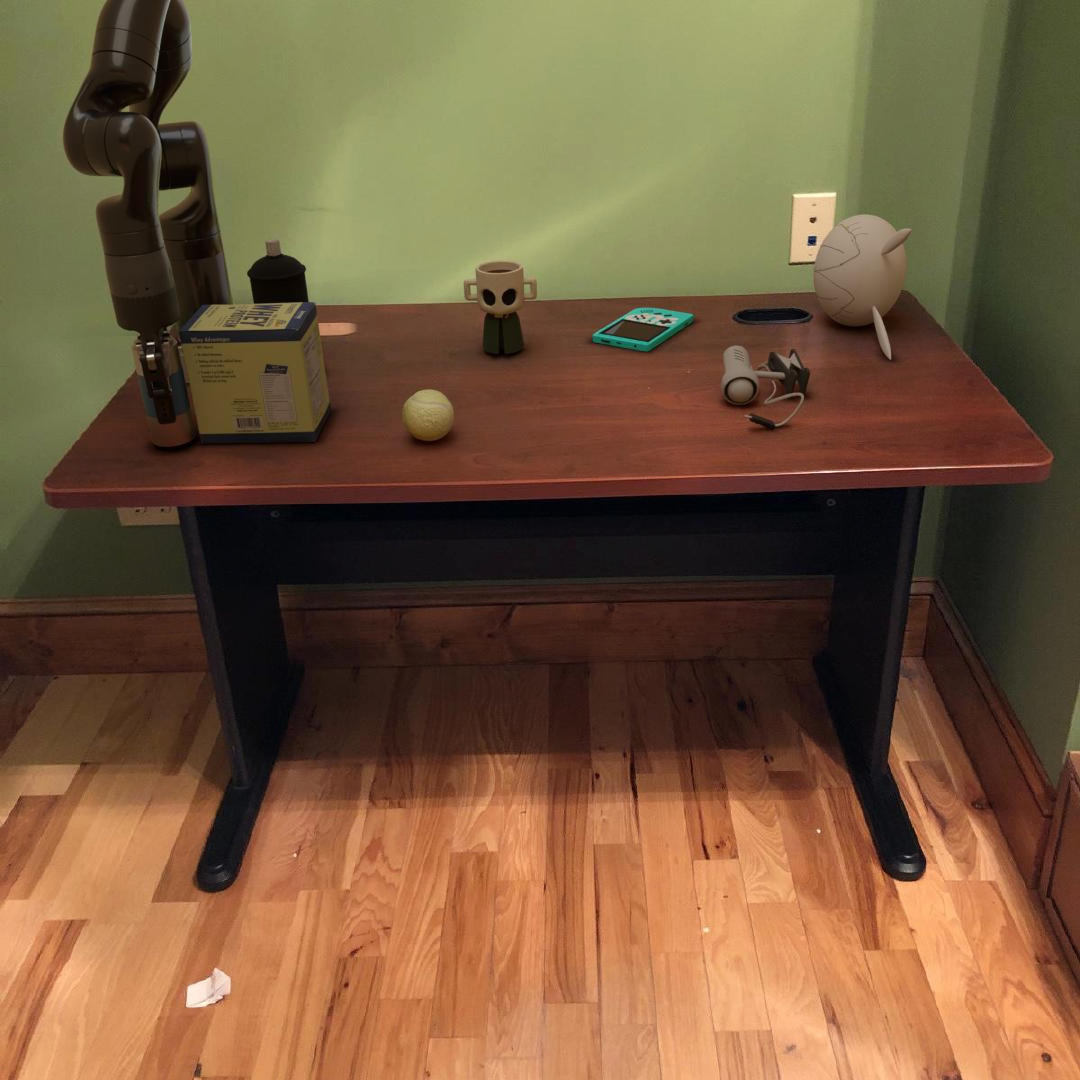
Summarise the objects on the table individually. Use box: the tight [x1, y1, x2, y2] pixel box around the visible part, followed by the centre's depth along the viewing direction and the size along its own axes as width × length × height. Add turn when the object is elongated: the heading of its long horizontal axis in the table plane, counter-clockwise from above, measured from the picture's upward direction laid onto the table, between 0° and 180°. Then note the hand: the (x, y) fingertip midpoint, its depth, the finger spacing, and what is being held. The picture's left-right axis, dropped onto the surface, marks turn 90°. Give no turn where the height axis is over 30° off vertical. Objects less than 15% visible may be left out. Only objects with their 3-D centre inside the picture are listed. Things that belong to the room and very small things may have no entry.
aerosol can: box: [246, 238, 310, 304], centre depth 164 cm, size 8×8×20 cm
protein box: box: [177, 301, 332, 445], centre depth 149 cm, size 10×16×16 cm
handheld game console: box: [592, 307, 694, 353], centre depth 180 cm, size 10×16×1 cm, turn 148°
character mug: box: [463, 259, 538, 355], centre depth 172 cm, size 11×7×13 cm, turn 87°
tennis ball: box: [401, 389, 455, 442], centre depth 146 cm, size 6×7×7 cm
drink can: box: [131, 334, 196, 448], centre depth 145 cm, size 6×6×13 cm
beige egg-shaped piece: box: [813, 214, 913, 361], centre depth 173 cm, size 19×14×25 cm
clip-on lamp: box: [720, 345, 811, 430], centre depth 152 cm, size 12×6×18 cm
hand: (168, 412), depth 147 cm, fingers closed on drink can, 5 cm apart
